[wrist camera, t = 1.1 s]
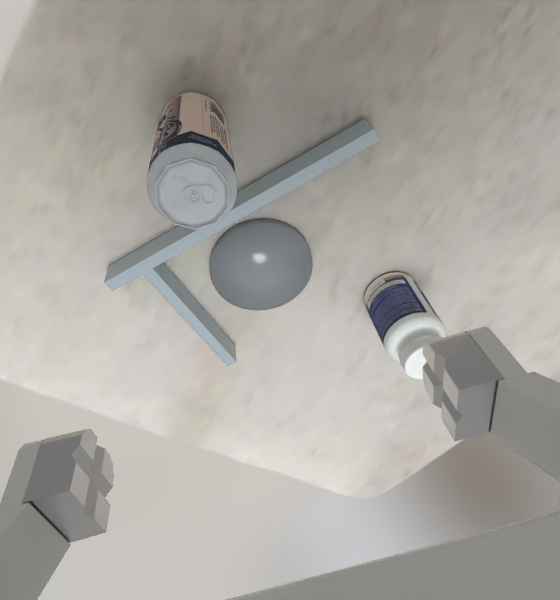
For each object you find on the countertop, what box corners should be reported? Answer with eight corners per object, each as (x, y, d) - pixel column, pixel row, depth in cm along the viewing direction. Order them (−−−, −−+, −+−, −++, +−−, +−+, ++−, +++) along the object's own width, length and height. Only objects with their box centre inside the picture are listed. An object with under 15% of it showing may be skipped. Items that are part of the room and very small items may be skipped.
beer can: (156, 88, 32) (139, 149, 22) (226, 90, 32) (239, 150, 23) (163, 157, 34) (150, 237, 25) (227, 158, 35) (238, 235, 26)
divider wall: (364, 118, 35) (374, 128, 33) (418, 252, 43) (428, 266, 41) (108, 265, 39) (104, 282, 37) (201, 361, 48) (201, 379, 46)
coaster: (281, 199, 38) (283, 205, 37) (326, 275, 43) (328, 281, 42) (189, 251, 40) (189, 257, 39) (243, 318, 45) (244, 324, 44)
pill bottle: (352, 306, 46) (384, 378, 38) (380, 263, 43) (420, 331, 36) (396, 319, 48) (434, 390, 40) (426, 279, 45) (473, 346, 38)
